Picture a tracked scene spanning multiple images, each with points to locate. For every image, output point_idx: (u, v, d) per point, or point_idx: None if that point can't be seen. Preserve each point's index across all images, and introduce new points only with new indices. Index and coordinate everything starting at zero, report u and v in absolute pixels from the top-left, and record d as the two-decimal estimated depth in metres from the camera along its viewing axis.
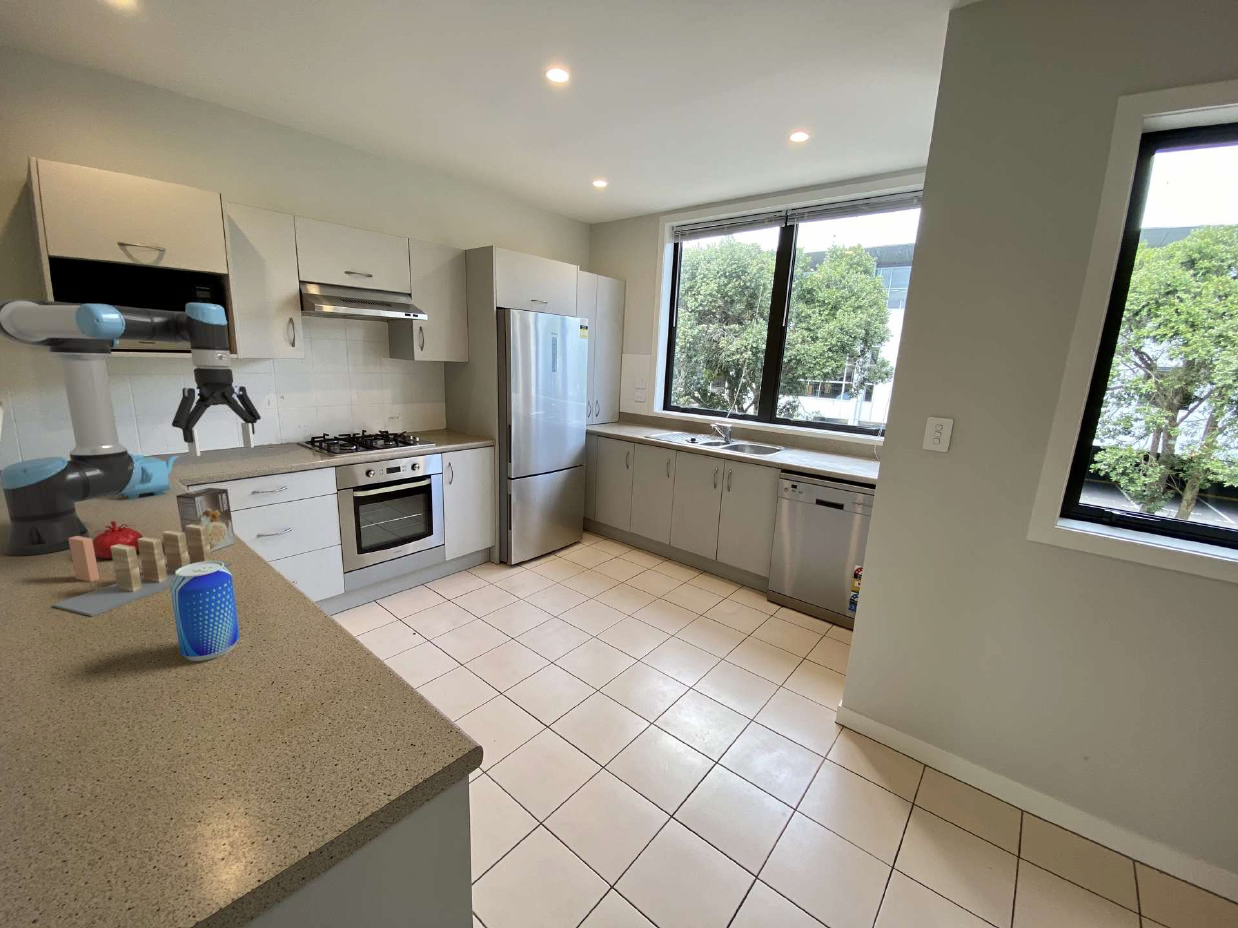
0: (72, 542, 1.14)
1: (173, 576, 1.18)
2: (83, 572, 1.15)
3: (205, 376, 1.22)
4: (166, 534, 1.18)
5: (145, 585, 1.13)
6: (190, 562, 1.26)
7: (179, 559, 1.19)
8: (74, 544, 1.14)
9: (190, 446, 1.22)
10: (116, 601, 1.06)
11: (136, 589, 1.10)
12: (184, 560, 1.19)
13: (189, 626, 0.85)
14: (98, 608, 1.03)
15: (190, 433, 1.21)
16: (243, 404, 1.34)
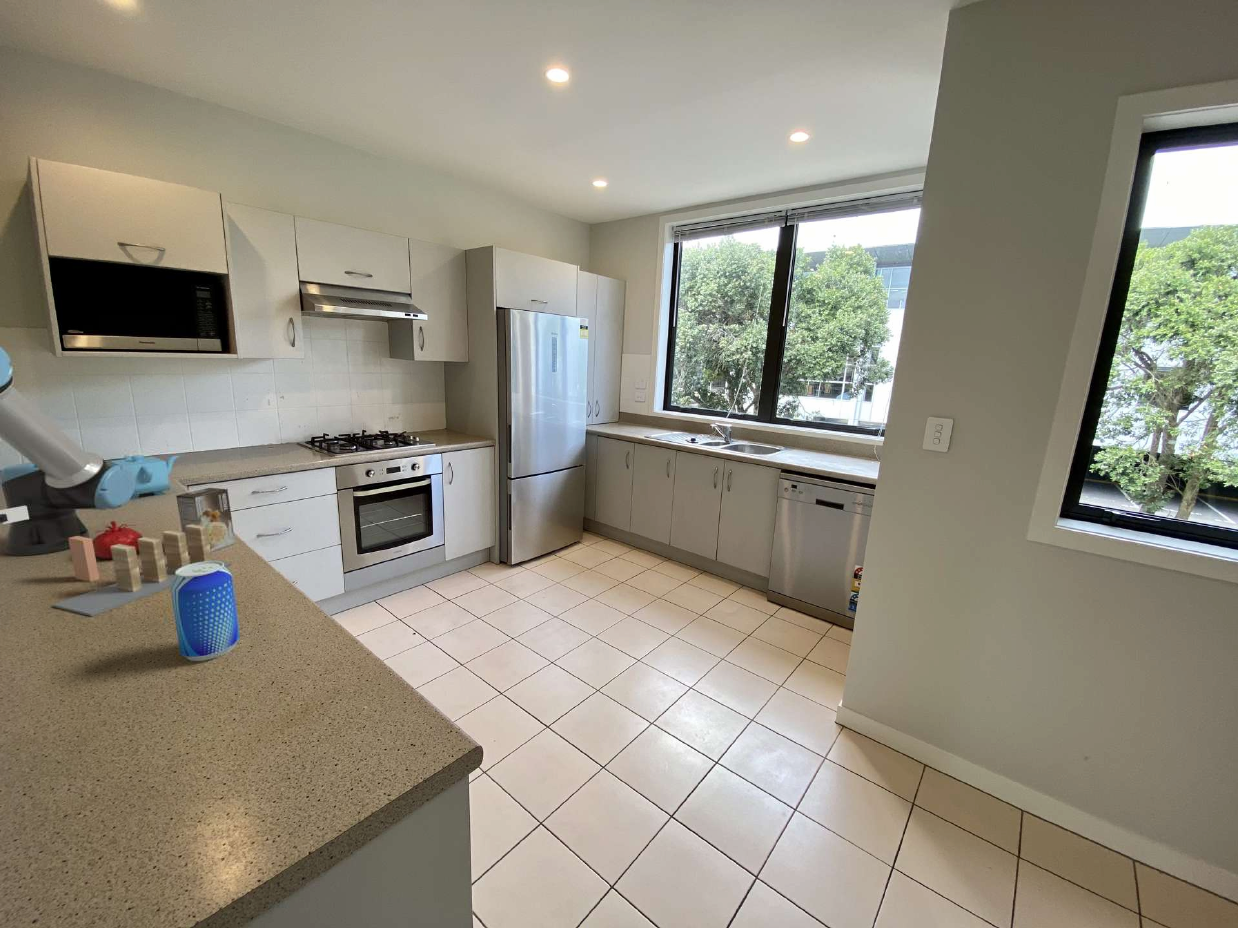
0: (72, 542, 1.14)
1: (173, 576, 1.18)
2: (83, 572, 1.15)
3: None
4: (166, 534, 1.18)
5: (145, 585, 1.13)
6: (190, 562, 1.26)
7: (179, 559, 1.19)
8: (73, 544, 1.14)
9: None
10: (116, 601, 1.06)
11: (136, 589, 1.10)
12: (184, 560, 1.19)
13: (189, 627, 0.85)
14: (98, 608, 1.03)
15: None
16: None
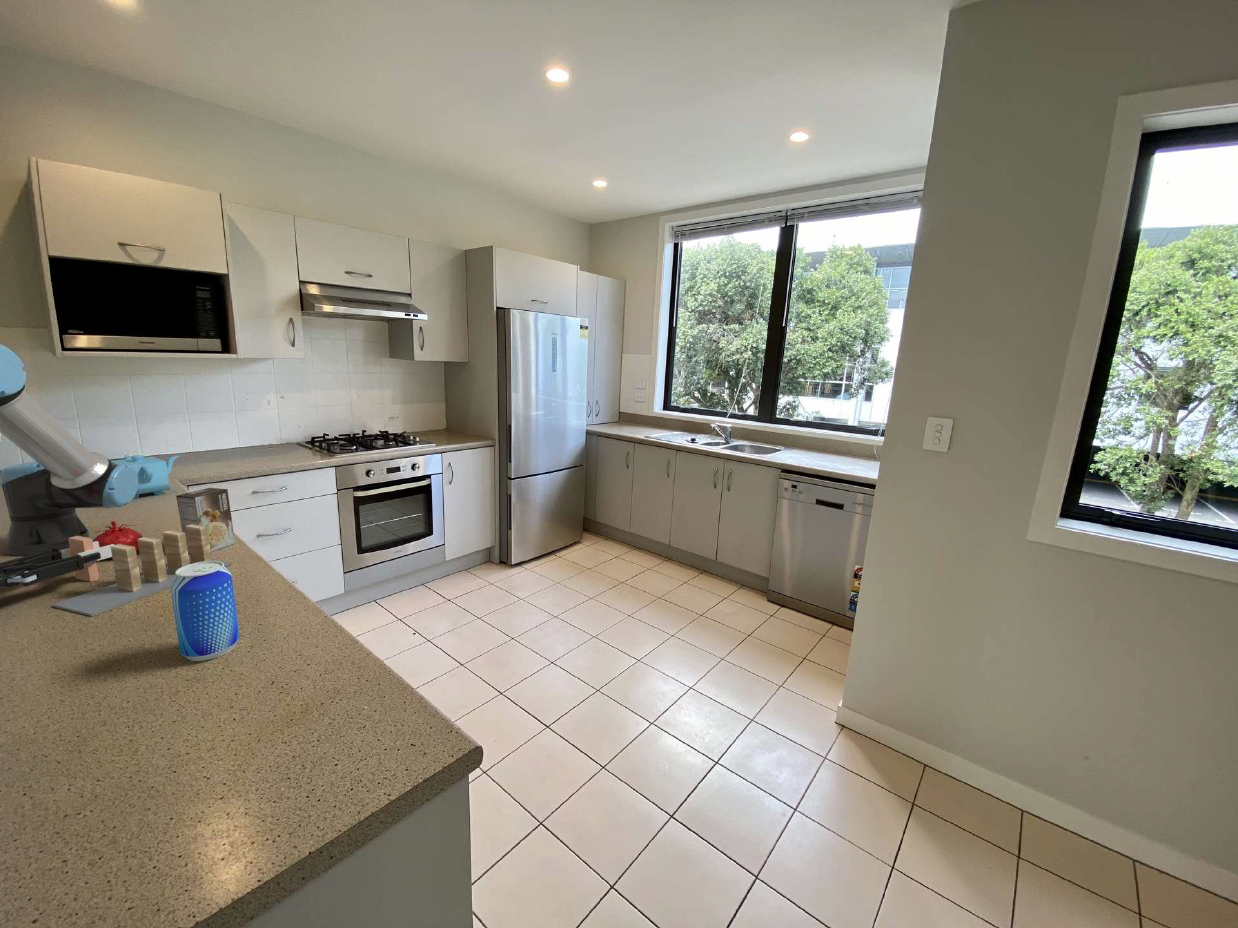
0: (72, 542, 1.14)
1: (173, 576, 1.18)
2: (83, 572, 1.15)
3: None
4: (166, 534, 1.18)
5: (145, 585, 1.13)
6: (190, 562, 1.26)
7: (179, 559, 1.19)
8: (74, 544, 1.14)
9: None
10: (116, 601, 1.06)
11: (136, 589, 1.10)
12: (184, 560, 1.19)
13: (189, 627, 0.85)
14: (98, 608, 1.03)
15: None
16: None
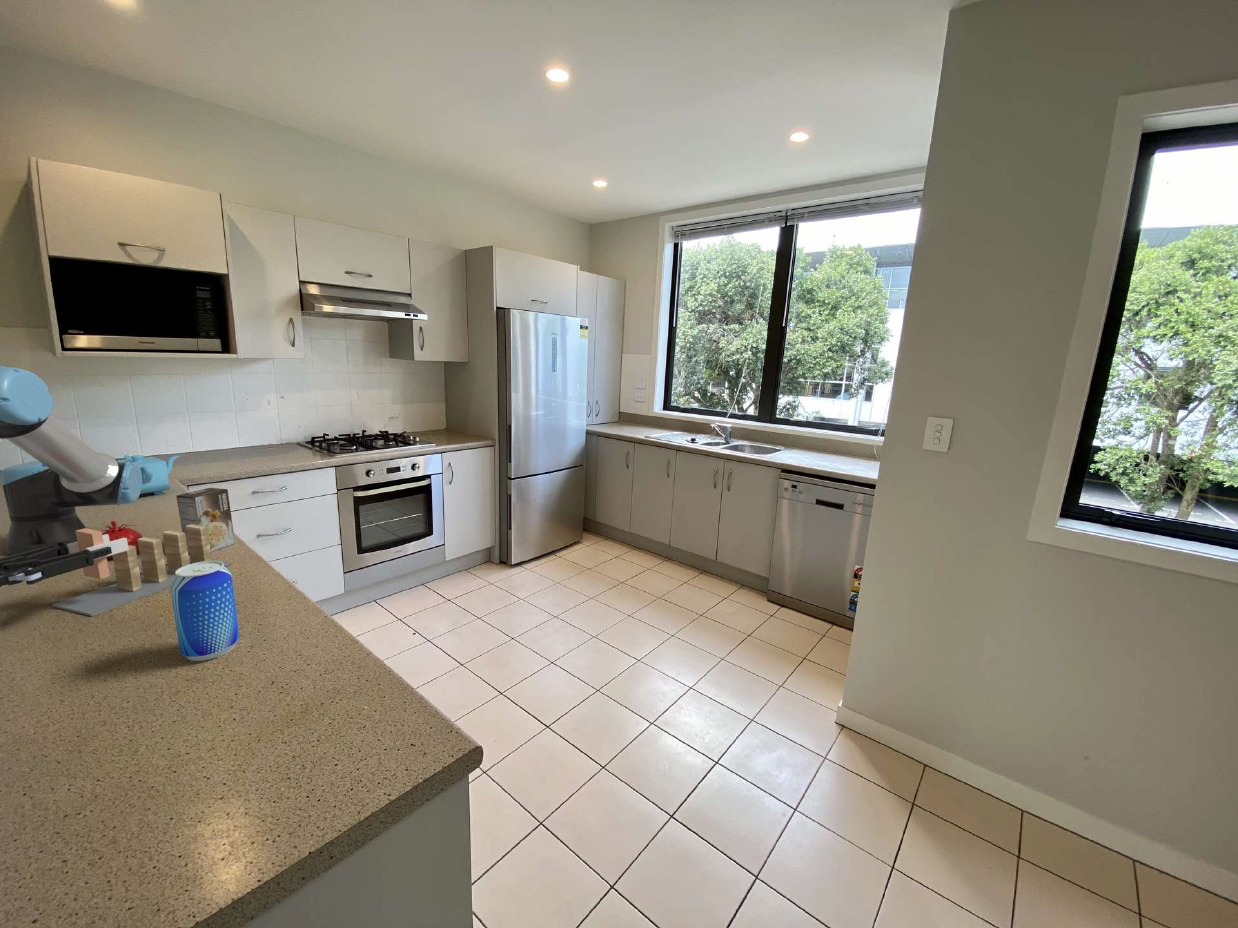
0: (79, 535, 1.03)
1: (173, 576, 1.18)
2: (92, 568, 1.04)
3: None
4: (166, 534, 1.18)
5: (145, 585, 1.13)
6: (190, 562, 1.26)
7: (179, 559, 1.19)
8: (81, 537, 1.03)
9: None
10: (116, 601, 1.06)
11: (136, 589, 1.10)
12: (184, 560, 1.19)
13: (188, 626, 0.85)
14: (98, 608, 1.03)
15: None
16: None
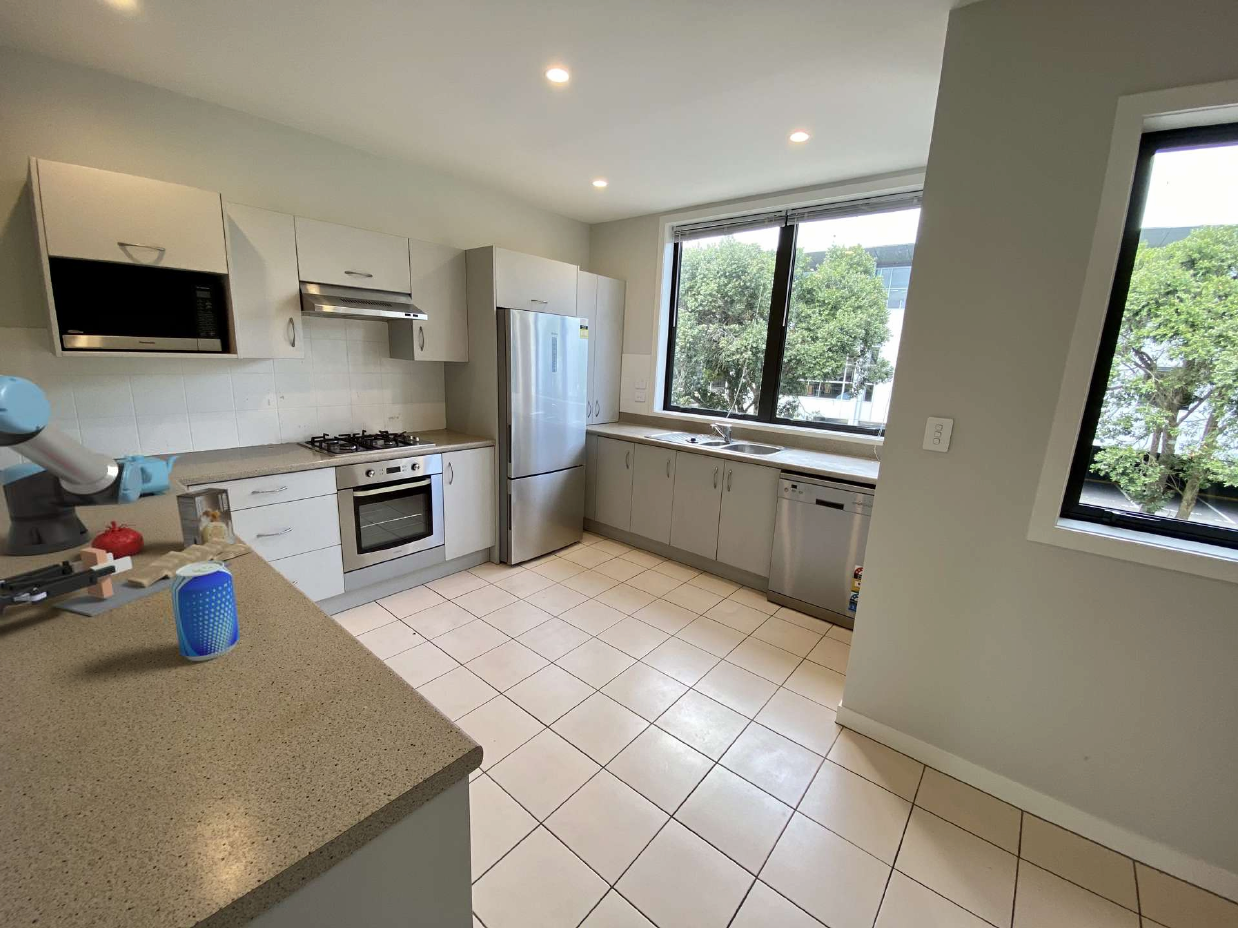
0: (84, 554, 1.04)
1: None
2: (96, 587, 1.05)
3: None
4: (215, 539, 1.30)
5: None
6: None
7: None
8: (86, 556, 1.04)
9: None
10: (116, 601, 1.06)
11: (145, 583, 1.12)
12: (204, 559, 1.24)
13: (189, 626, 0.85)
14: (98, 608, 1.03)
15: None
16: None
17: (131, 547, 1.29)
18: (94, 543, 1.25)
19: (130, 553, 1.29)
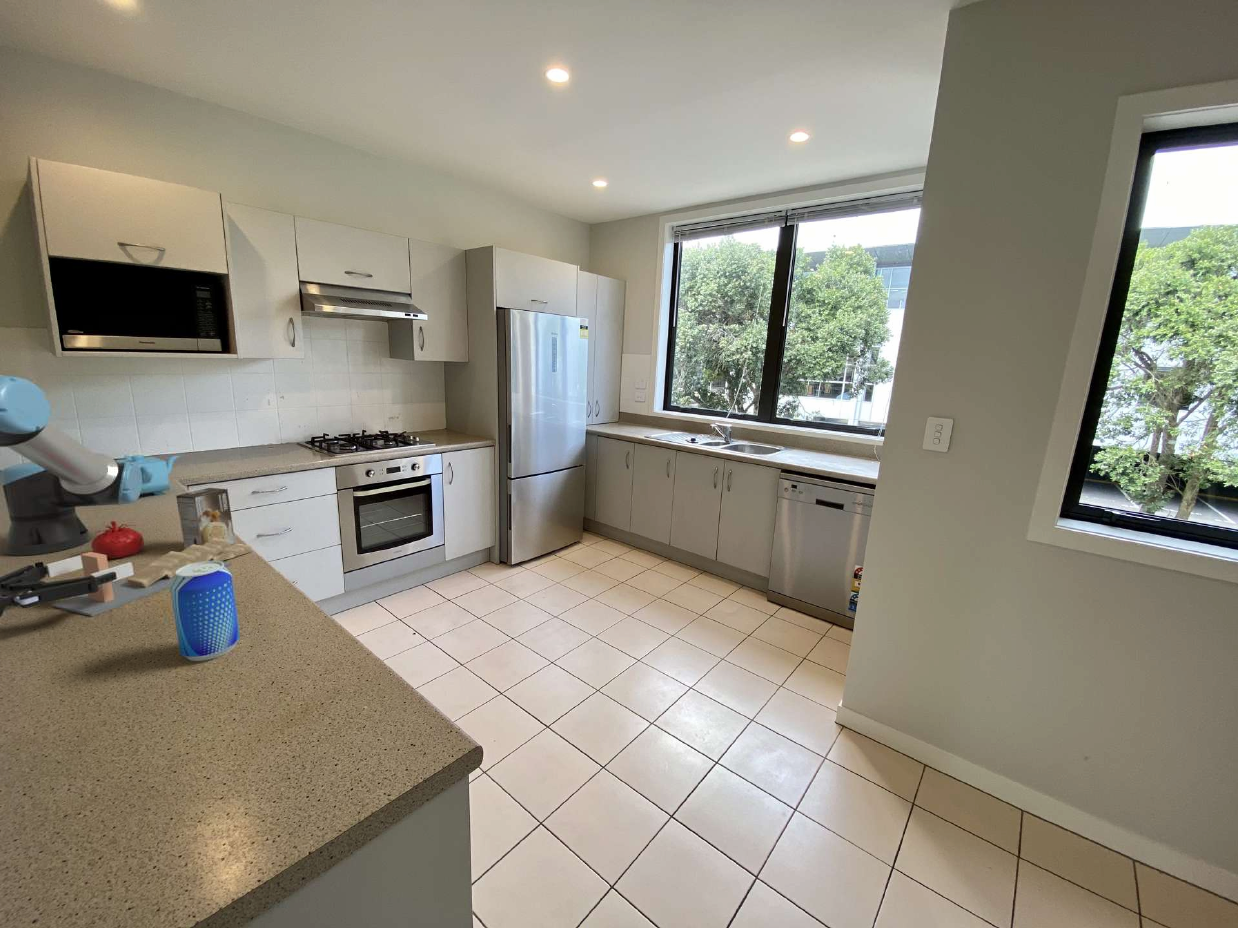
0: (84, 559, 1.04)
1: None
2: (97, 592, 1.05)
3: None
4: (215, 539, 1.30)
5: None
6: None
7: None
8: (86, 561, 1.04)
9: None
10: (116, 601, 1.06)
11: (145, 583, 1.12)
12: (204, 559, 1.24)
13: (188, 627, 0.85)
14: (98, 608, 1.03)
15: None
16: None
17: (131, 547, 1.29)
18: (94, 543, 1.25)
19: (130, 553, 1.29)
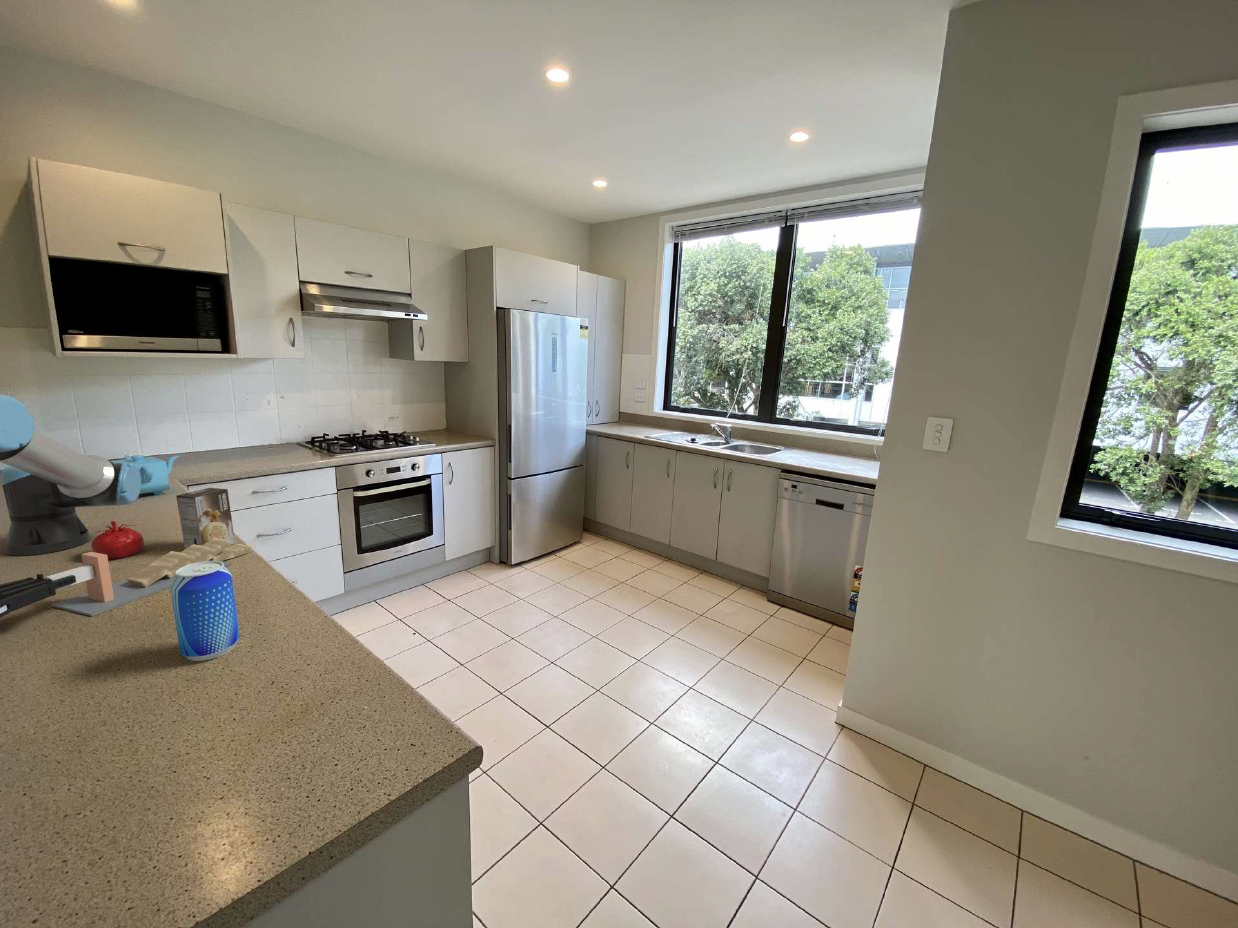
0: (85, 558, 1.04)
1: None
2: (97, 591, 1.05)
3: None
4: (215, 539, 1.29)
5: None
6: None
7: None
8: (87, 560, 1.04)
9: None
10: (116, 601, 1.06)
11: (145, 583, 1.12)
12: (204, 559, 1.24)
13: (188, 626, 0.85)
14: (98, 608, 1.03)
15: None
16: None
17: (131, 547, 1.29)
18: (94, 543, 1.25)
19: (130, 553, 1.29)
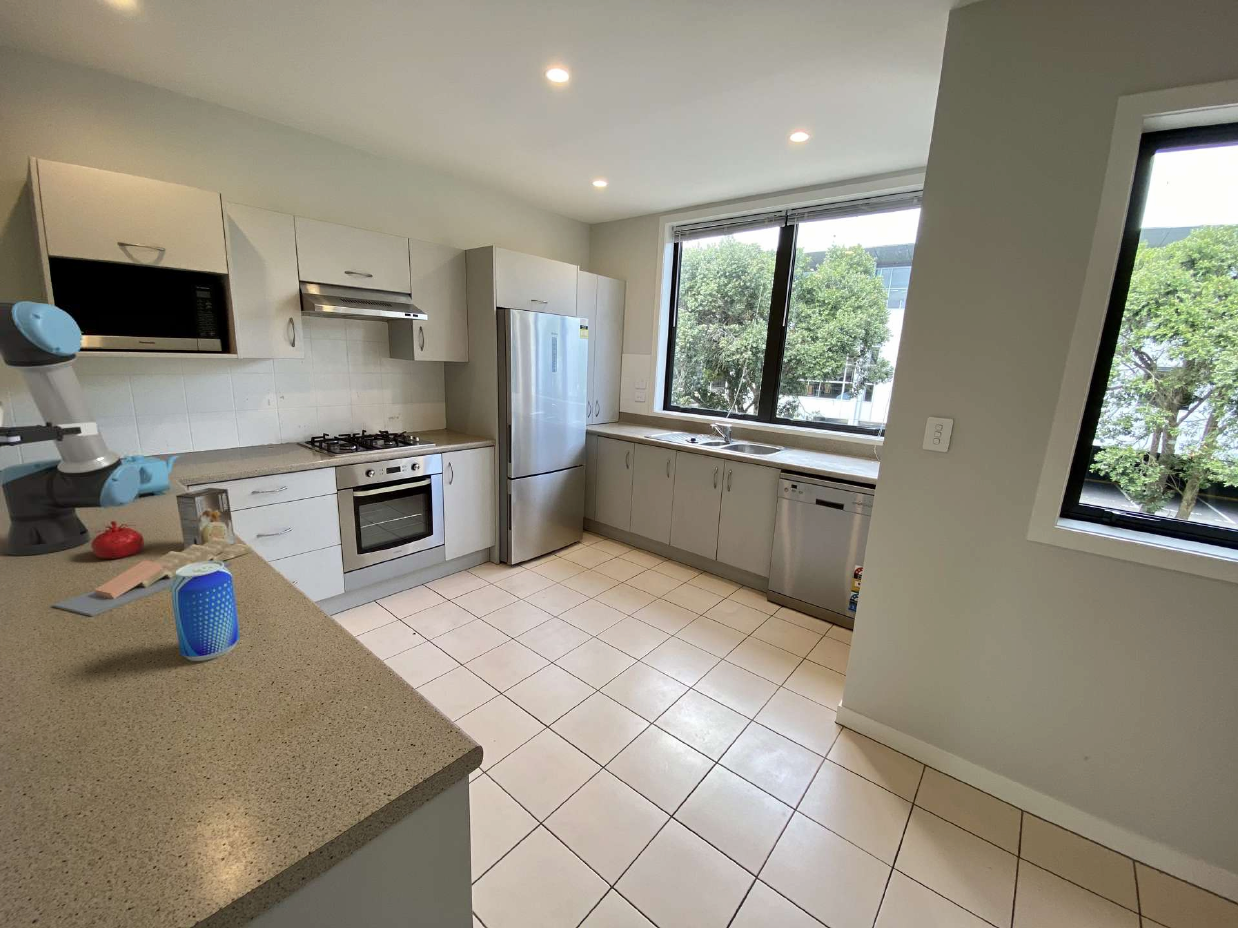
0: (143, 563, 1.15)
1: None
2: (114, 585, 1.08)
3: None
4: (215, 539, 1.29)
5: None
6: None
7: None
8: (143, 564, 1.14)
9: None
10: (116, 601, 1.06)
11: (145, 583, 1.12)
12: (204, 559, 1.24)
13: (188, 626, 0.85)
14: (98, 608, 1.03)
15: None
16: None
17: (131, 547, 1.29)
18: (94, 543, 1.25)
19: (130, 553, 1.29)
